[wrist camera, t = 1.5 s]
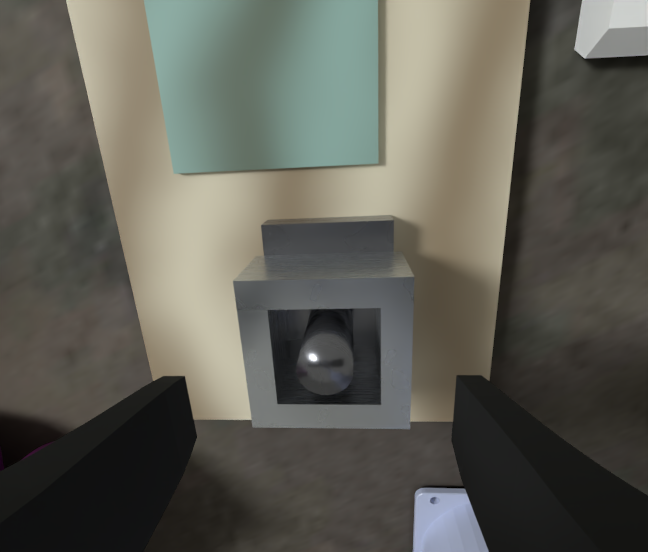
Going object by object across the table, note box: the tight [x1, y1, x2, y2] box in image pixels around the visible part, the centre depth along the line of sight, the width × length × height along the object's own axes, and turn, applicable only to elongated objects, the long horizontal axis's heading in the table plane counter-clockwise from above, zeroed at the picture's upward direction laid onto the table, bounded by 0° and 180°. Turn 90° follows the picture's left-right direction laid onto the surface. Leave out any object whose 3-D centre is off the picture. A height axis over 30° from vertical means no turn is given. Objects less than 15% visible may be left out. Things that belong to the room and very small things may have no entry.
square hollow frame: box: [233, 252, 414, 429], centre depth 14 cm, size 6×6×3 cm
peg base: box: [261, 215, 394, 395], centre depth 14 cm, size 5×8×5 cm, turn 3°
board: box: [66, 0, 530, 422], centre depth 15 cm, size 16×20×1 cm
